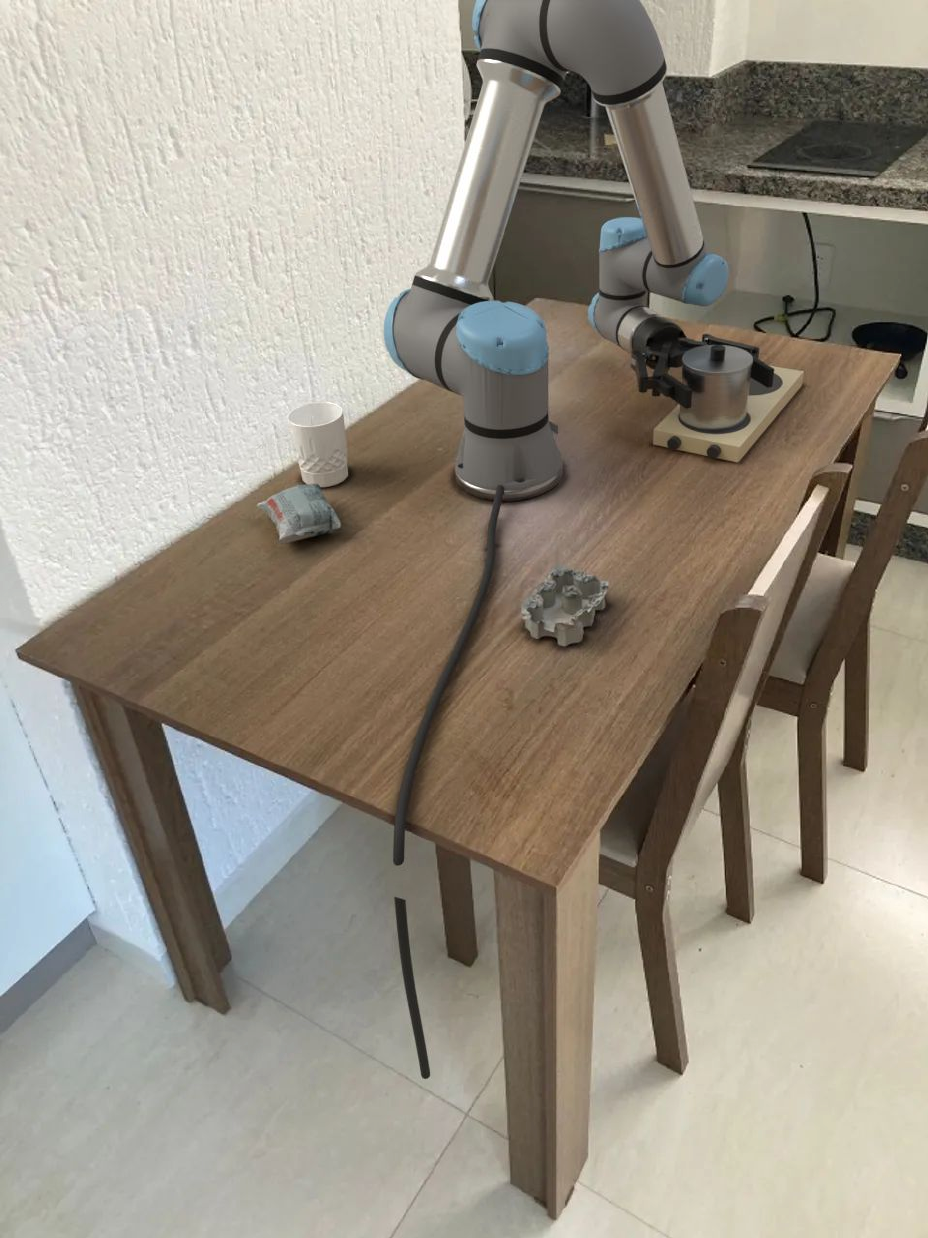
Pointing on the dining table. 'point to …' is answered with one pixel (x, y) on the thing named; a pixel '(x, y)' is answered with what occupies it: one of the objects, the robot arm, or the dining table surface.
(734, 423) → the pot
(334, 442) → the white cup
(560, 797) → the dining table surface
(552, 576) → the egg carton
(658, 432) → the hot plate
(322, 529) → the packaged food
